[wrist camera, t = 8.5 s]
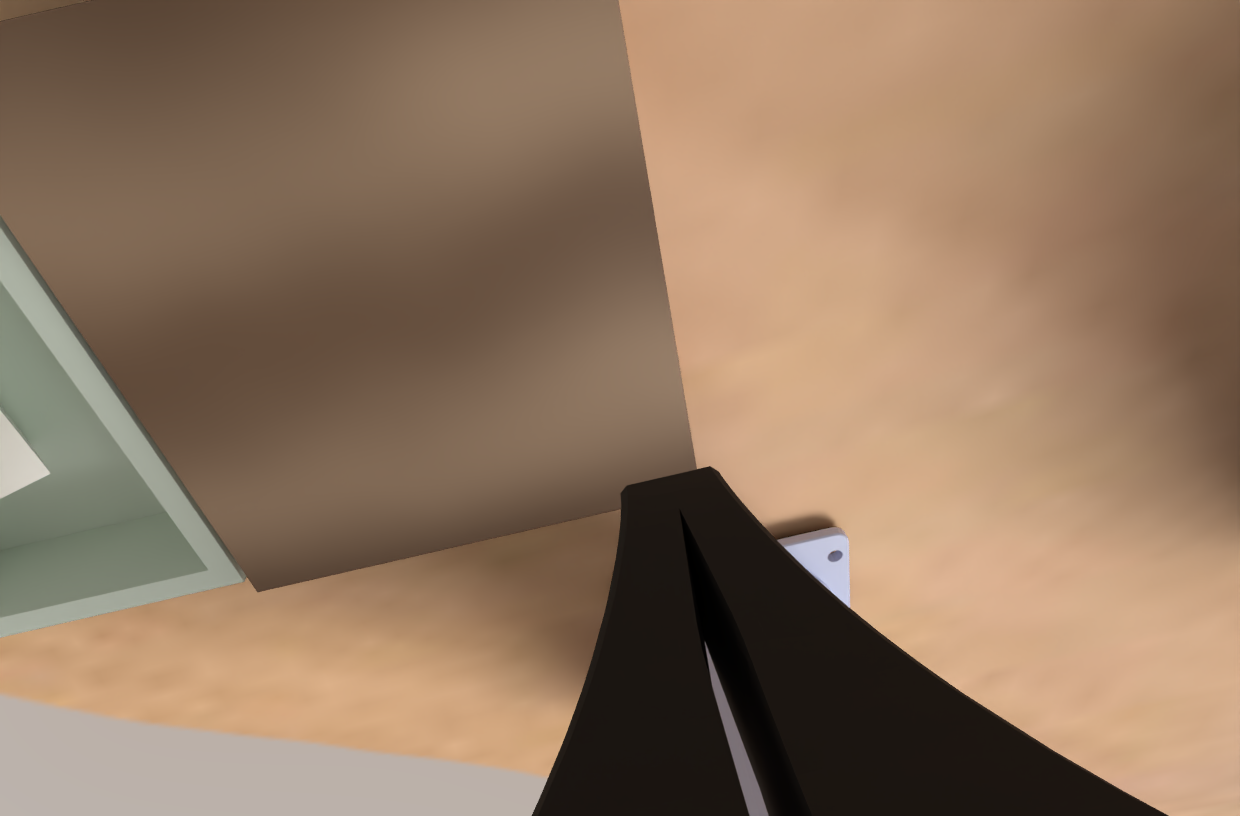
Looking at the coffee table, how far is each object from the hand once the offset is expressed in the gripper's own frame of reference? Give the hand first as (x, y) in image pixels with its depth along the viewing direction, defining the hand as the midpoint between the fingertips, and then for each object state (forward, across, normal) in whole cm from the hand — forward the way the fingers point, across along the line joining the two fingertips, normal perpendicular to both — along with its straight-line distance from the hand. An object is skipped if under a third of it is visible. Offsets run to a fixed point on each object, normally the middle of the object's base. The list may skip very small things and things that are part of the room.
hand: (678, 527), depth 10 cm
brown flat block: (+9, +4, -2) cm, 11 cm away
